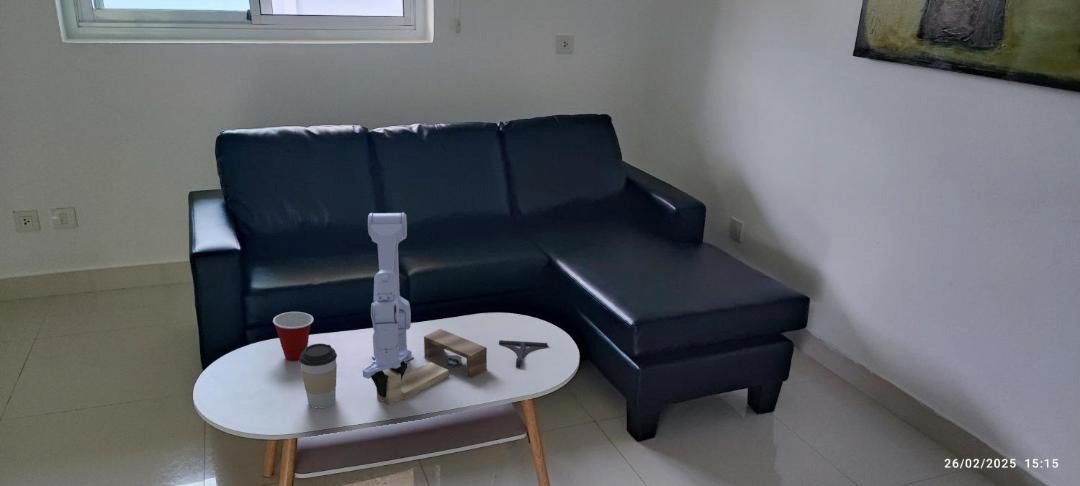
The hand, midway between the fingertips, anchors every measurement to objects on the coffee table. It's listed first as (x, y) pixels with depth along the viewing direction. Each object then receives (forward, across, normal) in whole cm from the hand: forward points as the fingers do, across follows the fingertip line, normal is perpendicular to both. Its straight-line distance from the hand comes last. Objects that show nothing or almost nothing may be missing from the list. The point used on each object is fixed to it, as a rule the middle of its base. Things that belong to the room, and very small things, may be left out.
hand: (389, 392), depth 190 cm
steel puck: (+2, +24, 0) cm, 24 cm away
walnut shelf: (+2, +24, 0) cm, 24 cm away
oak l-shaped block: (+2, +8, 0) cm, 8 cm away
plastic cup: (+2, -2, +37) cm, 37 cm away
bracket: (+3, +40, -11) cm, 42 cm away
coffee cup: (+2, -12, +12) cm, 17 cm away
